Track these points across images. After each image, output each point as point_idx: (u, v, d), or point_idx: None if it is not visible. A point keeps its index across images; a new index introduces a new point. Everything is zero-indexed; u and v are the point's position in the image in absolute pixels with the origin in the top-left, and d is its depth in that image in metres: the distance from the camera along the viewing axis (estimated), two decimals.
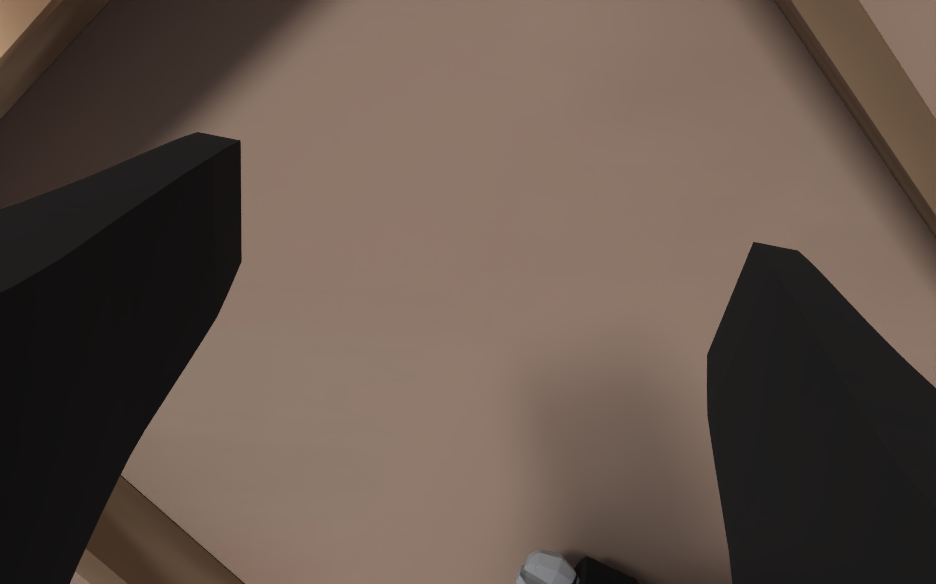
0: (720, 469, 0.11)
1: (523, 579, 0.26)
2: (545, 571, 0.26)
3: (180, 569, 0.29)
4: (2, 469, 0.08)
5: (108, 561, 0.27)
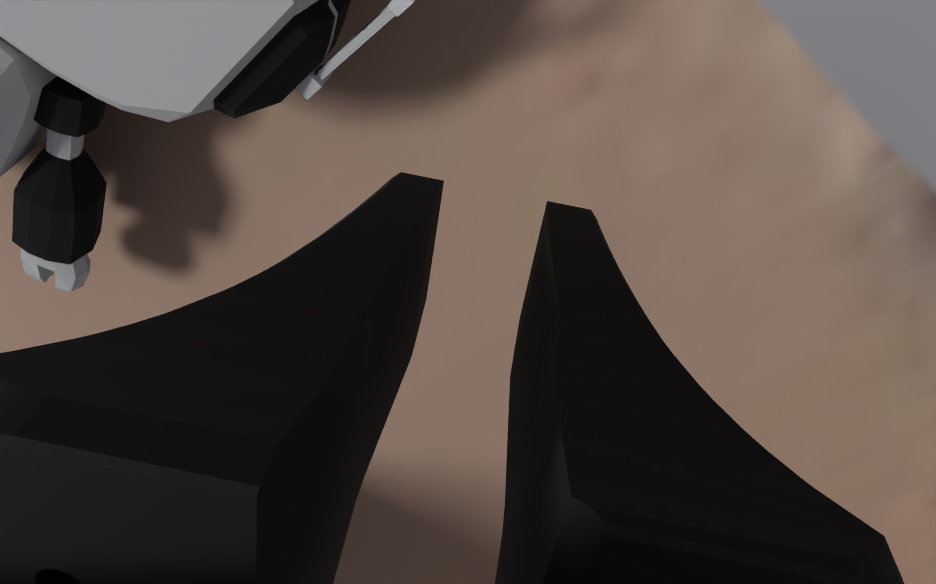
0: (509, 426, 0.11)
1: None
2: None
3: None
4: (313, 533, 0.08)
5: None
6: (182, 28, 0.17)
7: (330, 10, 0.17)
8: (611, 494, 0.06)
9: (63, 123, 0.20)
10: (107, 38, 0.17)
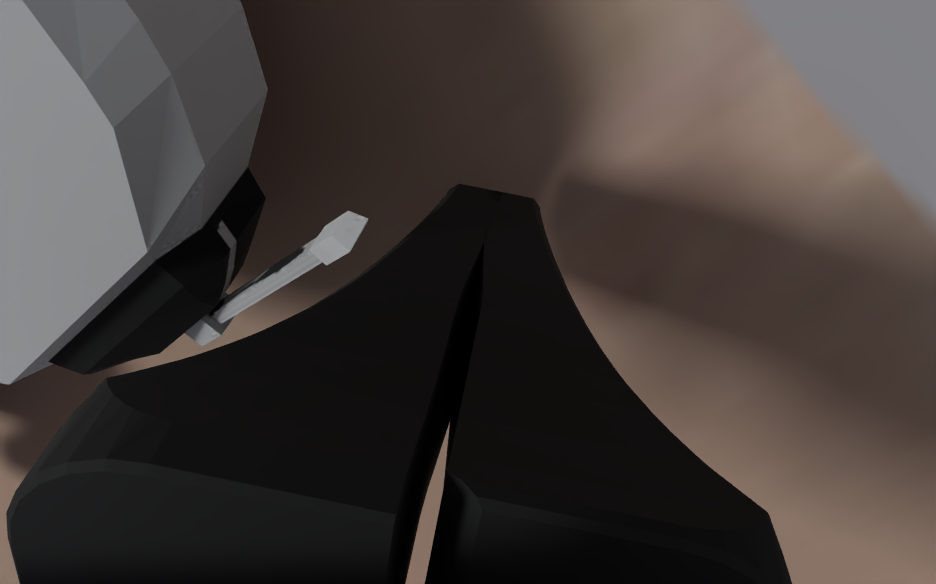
0: (451, 414, 0.11)
1: None
2: None
3: None
4: (402, 552, 0.08)
5: None
6: None
7: (222, 238, 0.10)
8: (491, 469, 0.06)
9: None
10: None
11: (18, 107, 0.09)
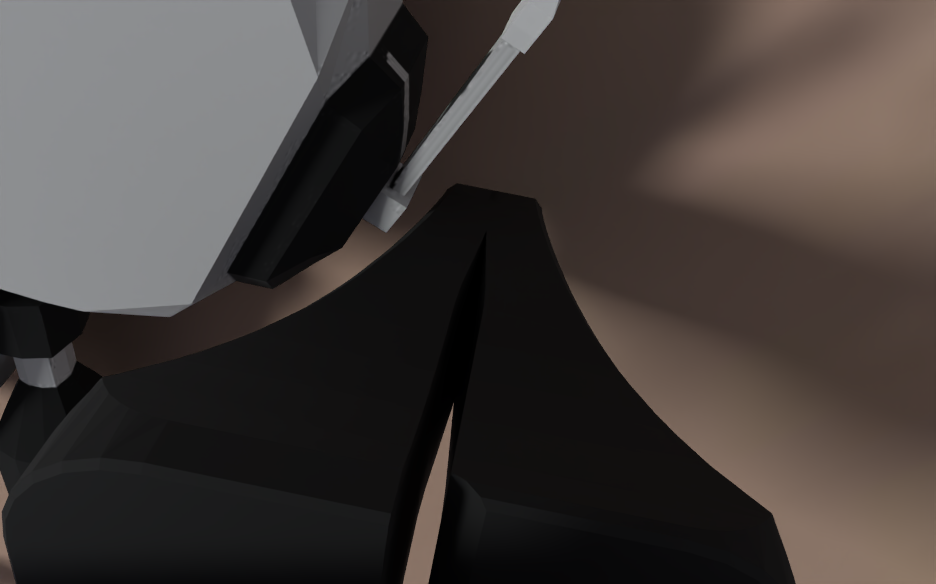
0: (453, 414, 0.12)
1: None
2: None
3: None
4: (399, 551, 0.08)
5: None
6: (136, 168, 0.09)
7: (394, 70, 0.09)
8: (496, 470, 0.06)
9: (23, 343, 0.12)
10: (24, 211, 0.10)
11: None
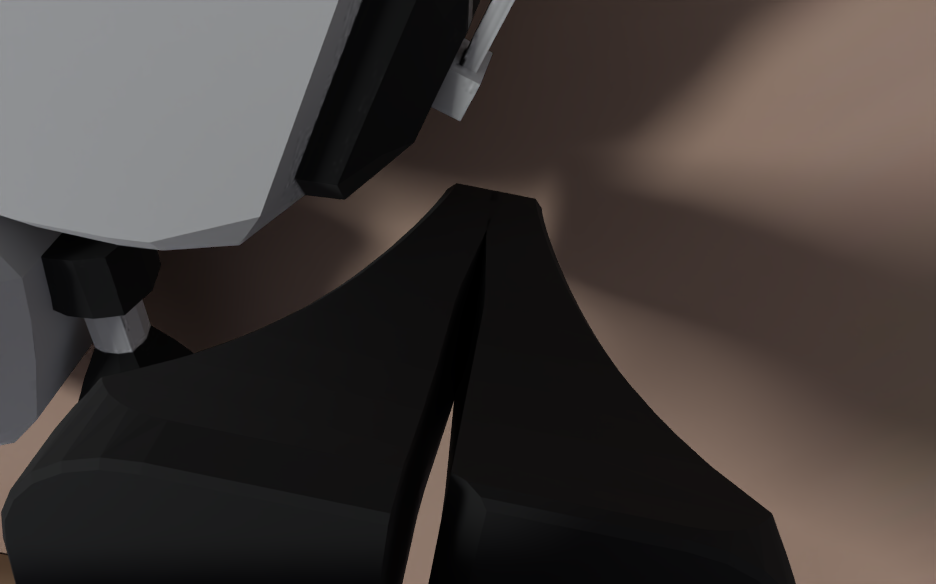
0: (453, 415, 0.11)
1: None
2: None
3: None
4: (399, 551, 0.08)
5: None
6: (187, 59, 0.08)
7: None
8: (496, 471, 0.06)
9: (94, 301, 0.12)
10: (76, 132, 0.09)
11: None
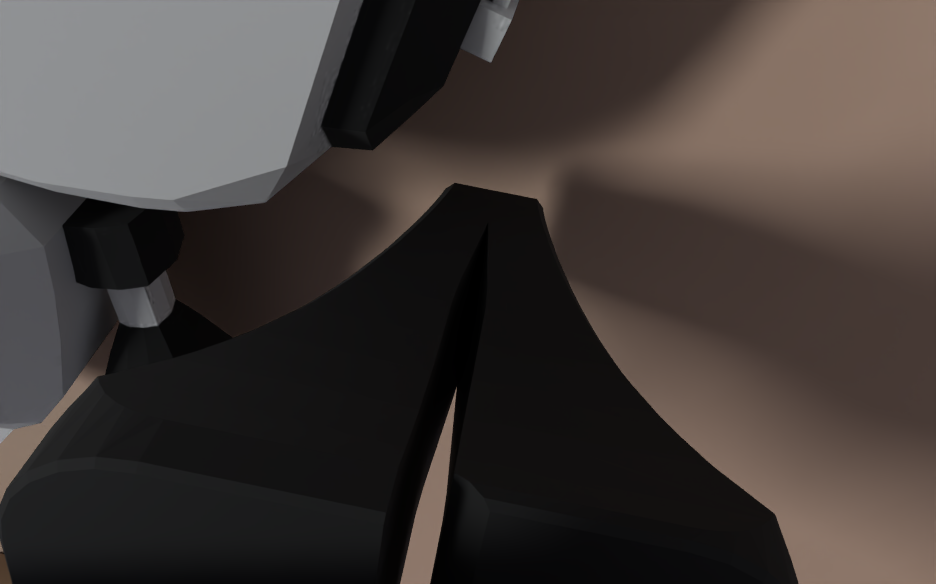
0: (454, 415, 0.11)
1: None
2: None
3: None
4: (396, 550, 0.08)
5: None
6: None
7: None
8: (499, 471, 0.06)
9: (117, 271, 0.12)
10: (95, 83, 0.09)
11: None
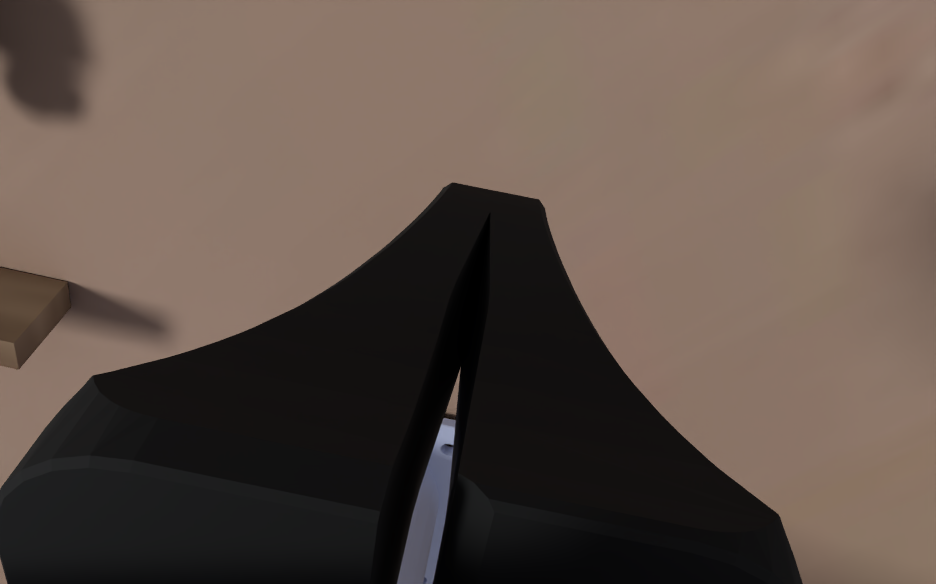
0: (456, 415, 0.11)
1: None
2: None
3: None
4: (392, 550, 0.08)
5: None
6: None
7: None
8: (502, 471, 0.06)
9: None
10: None
11: None
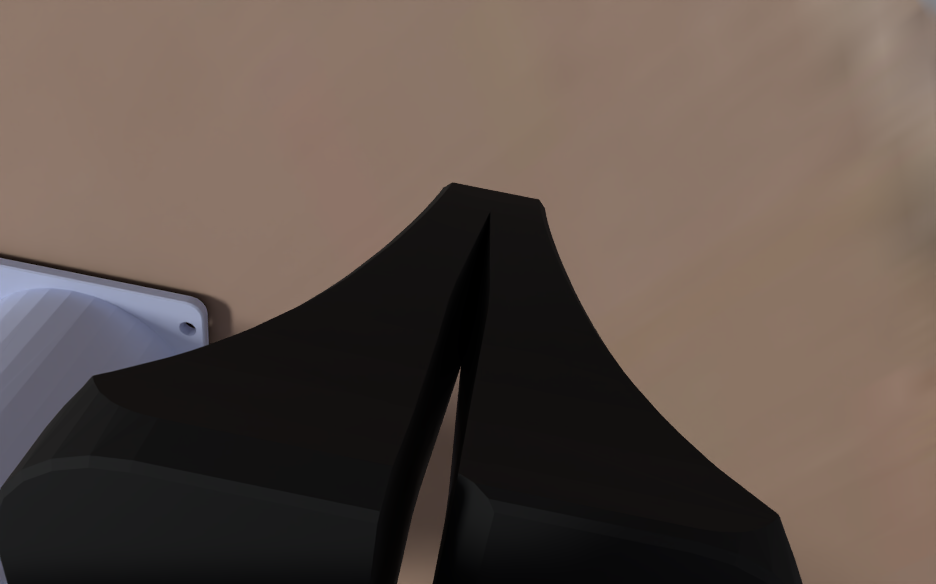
0: (456, 415, 0.11)
1: None
2: None
3: None
4: (392, 549, 0.08)
5: None
6: None
7: None
8: (502, 471, 0.06)
9: None
10: None
11: None
